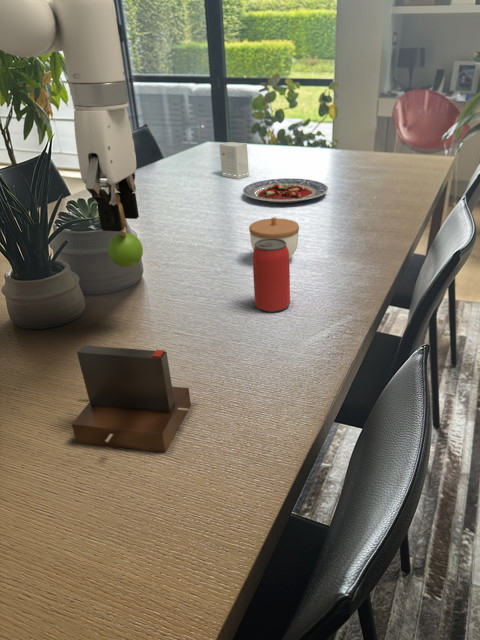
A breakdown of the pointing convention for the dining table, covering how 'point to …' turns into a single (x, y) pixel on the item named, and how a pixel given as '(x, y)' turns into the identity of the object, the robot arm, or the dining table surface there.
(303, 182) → the ceramic plate
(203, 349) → the dining table surface
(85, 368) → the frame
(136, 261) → the green ball on stick
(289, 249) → the trinket box
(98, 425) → the frame stand
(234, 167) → the small box
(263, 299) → the beer can
